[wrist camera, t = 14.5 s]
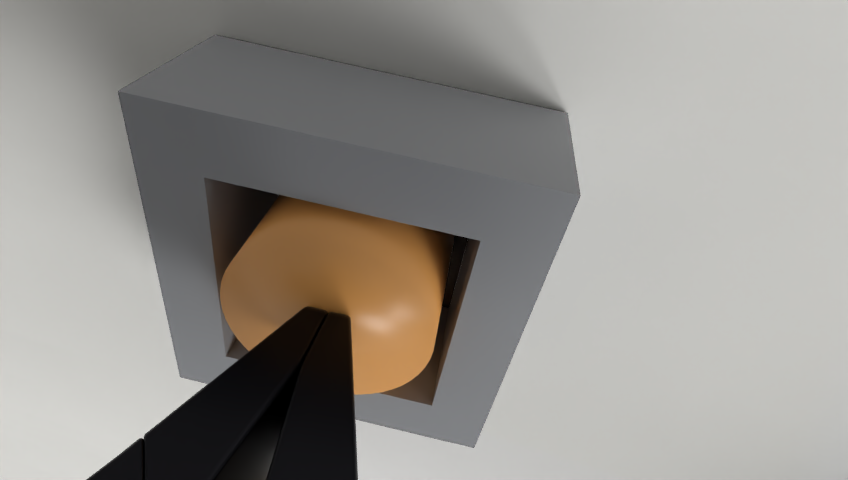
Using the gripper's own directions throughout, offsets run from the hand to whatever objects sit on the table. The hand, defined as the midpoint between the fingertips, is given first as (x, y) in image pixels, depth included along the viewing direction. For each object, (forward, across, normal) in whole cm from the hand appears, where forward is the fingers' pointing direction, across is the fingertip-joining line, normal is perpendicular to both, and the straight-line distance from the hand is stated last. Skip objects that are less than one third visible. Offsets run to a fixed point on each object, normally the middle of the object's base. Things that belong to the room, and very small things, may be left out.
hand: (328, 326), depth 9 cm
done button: (+3, 0, 0) cm, 3 cm away
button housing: (+3, 0, 0) cm, 3 cm away
